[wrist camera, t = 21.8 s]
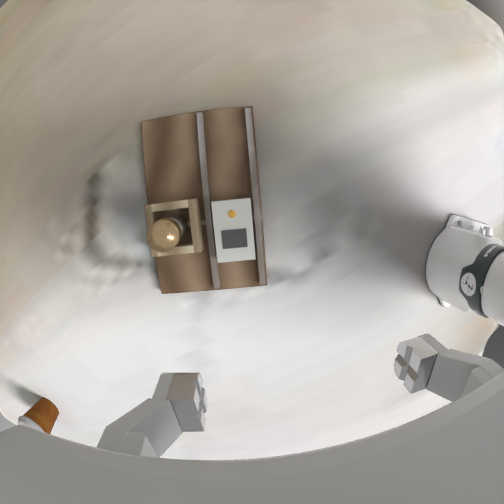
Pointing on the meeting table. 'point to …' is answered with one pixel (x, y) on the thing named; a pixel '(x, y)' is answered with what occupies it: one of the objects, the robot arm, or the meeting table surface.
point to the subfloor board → (204, 191)
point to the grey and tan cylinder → (166, 233)
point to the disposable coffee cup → (40, 416)
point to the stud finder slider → (233, 230)
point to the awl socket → (195, 224)
